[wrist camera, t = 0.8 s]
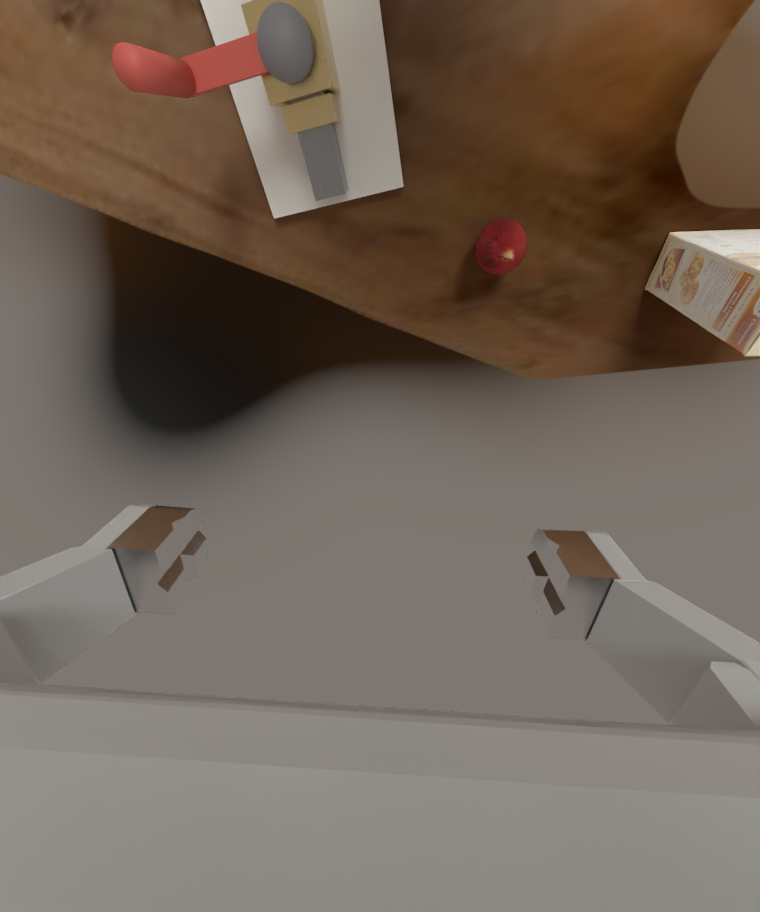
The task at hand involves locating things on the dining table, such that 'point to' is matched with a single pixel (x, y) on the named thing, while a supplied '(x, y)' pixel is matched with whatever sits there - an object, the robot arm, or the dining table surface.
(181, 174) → the dining table surface
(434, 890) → the robot arm
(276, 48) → the lever
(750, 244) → the coffeecake box
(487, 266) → the onion
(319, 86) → the valve and pipe
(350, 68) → the mounting board
